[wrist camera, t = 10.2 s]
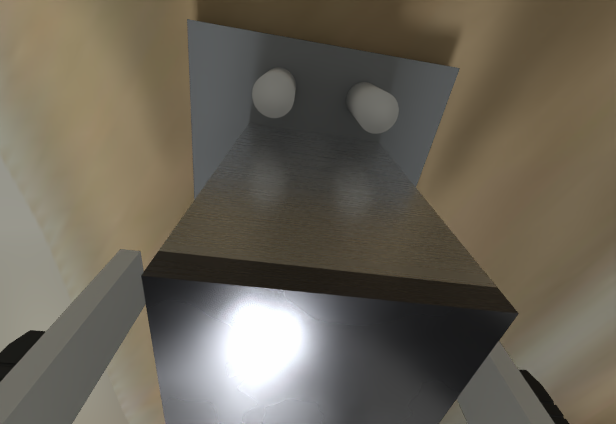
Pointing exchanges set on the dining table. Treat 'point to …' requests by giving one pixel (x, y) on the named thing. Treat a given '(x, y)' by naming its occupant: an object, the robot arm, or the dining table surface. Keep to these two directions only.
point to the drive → (315, 292)
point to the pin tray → (309, 94)
